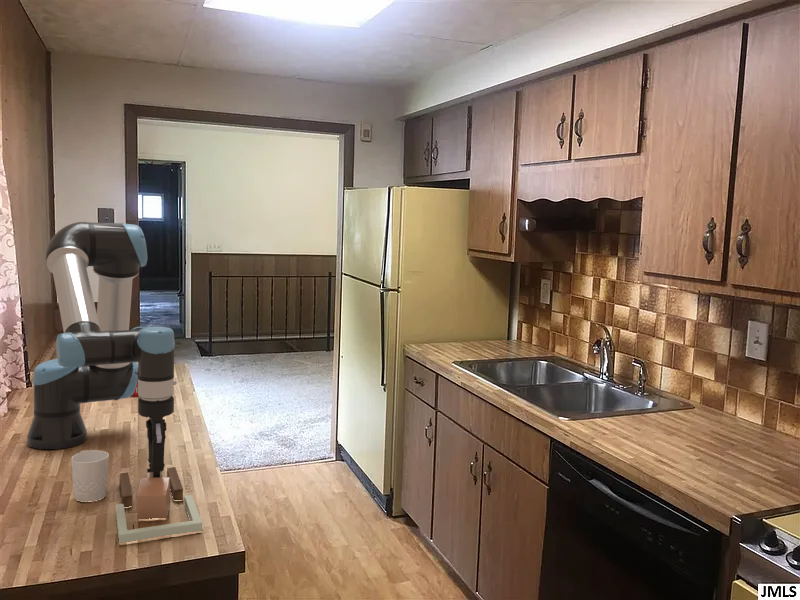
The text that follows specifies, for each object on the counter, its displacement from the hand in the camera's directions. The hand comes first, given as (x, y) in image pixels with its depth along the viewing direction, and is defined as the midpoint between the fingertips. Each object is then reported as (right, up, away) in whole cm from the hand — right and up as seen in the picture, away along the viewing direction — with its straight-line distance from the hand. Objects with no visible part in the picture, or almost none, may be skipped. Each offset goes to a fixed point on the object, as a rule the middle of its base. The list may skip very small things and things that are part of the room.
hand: (155, 496), depth 149 cm
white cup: (-17, -1, +4) cm, 17 cm away
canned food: (-40, +11, +88) cm, 97 cm away
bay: (+3, -4, -6) cm, 8 cm away
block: (+1, -2, -3) cm, 4 cm away
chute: (-4, -1, +8) cm, 9 cm away
